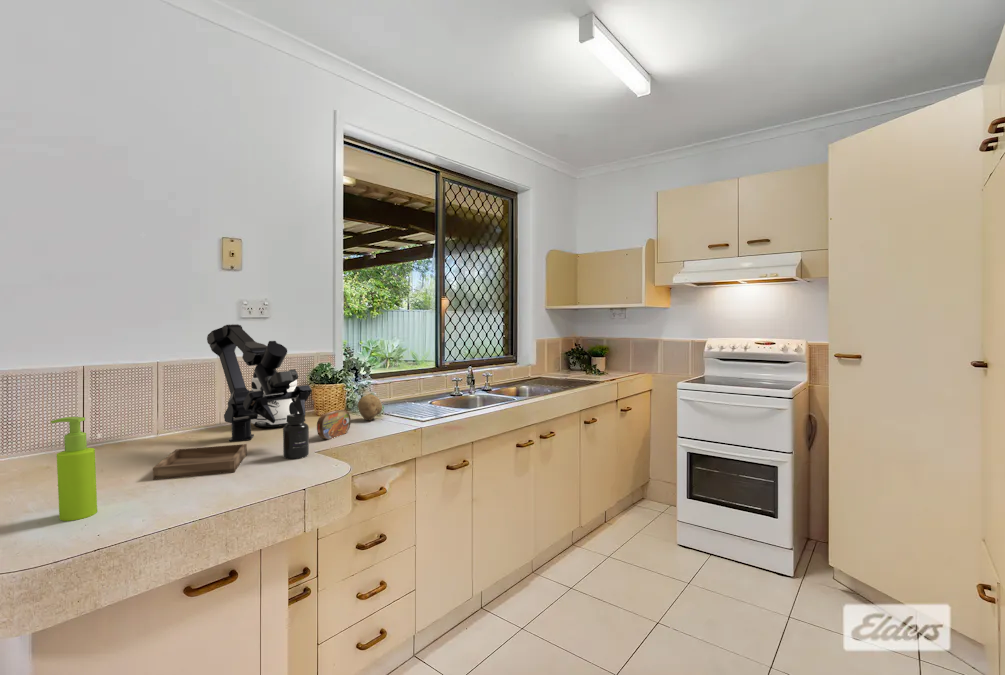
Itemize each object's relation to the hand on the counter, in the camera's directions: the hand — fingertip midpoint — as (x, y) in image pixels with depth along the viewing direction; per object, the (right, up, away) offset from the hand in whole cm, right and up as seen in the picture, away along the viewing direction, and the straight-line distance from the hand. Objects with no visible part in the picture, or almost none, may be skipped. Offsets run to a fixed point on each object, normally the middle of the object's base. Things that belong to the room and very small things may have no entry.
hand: (289, 419), depth 146 cm
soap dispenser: (-25, -12, -44) cm, 52 cm away
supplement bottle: (+3, -11, -2) cm, 11 cm away
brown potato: (+11, -8, +48) cm, 50 cm away
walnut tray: (-19, -11, -10) cm, 24 cm away
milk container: (-23, -9, +41) cm, 47 cm away
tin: (+5, -10, +22) cm, 25 cm away
